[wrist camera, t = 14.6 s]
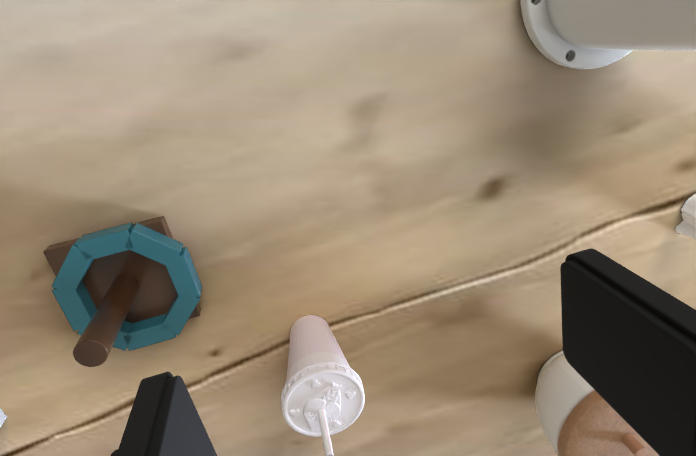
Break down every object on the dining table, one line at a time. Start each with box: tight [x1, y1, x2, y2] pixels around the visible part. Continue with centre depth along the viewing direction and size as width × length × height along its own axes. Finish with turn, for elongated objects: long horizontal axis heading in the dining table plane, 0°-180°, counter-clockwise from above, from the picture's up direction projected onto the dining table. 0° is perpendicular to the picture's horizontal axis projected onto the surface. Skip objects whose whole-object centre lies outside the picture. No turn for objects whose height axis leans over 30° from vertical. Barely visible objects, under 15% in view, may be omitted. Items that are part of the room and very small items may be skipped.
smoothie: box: [281, 315, 365, 456], centre depth 37 cm, size 6×6×14 cm
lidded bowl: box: [535, 350, 660, 456], centre depth 47 cm, size 13×13×11 cm
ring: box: [52, 223, 202, 351], centre depth 37 cm, size 10×10×2 cm
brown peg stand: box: [44, 216, 201, 367], centre depth 34 cm, size 9×9×10 cm
